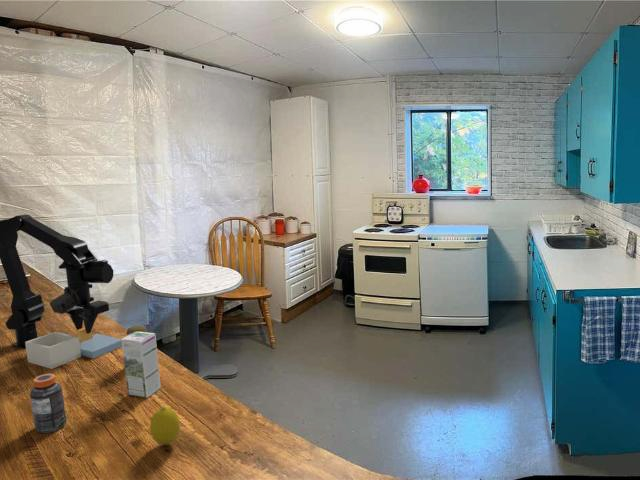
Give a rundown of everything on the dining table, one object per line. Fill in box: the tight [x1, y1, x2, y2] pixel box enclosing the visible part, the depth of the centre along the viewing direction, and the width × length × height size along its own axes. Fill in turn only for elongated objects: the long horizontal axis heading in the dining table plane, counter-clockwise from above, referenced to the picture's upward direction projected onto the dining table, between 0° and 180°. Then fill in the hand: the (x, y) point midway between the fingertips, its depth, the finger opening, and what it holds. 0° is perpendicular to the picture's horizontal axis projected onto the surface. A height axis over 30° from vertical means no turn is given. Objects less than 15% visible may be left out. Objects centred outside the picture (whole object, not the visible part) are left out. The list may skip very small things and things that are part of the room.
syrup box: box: [121, 331, 162, 399], centre depth 119 cm, size 6×6×14 cm
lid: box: [75, 327, 123, 360], centre depth 149 cm, size 12×10×6 cm
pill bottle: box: [29, 373, 67, 434], centre depth 105 cm, size 6×6×11 cm
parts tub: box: [25, 331, 82, 370], centre depth 142 cm, size 11×9×6 cm
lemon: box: [149, 406, 181, 446], centre depth 97 cm, size 6×6×8 cm
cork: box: [126, 324, 148, 336], centre depth 136 cm, size 6×6×11 cm
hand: (84, 332), depth 151 cm, fingers open, 4 cm apart
